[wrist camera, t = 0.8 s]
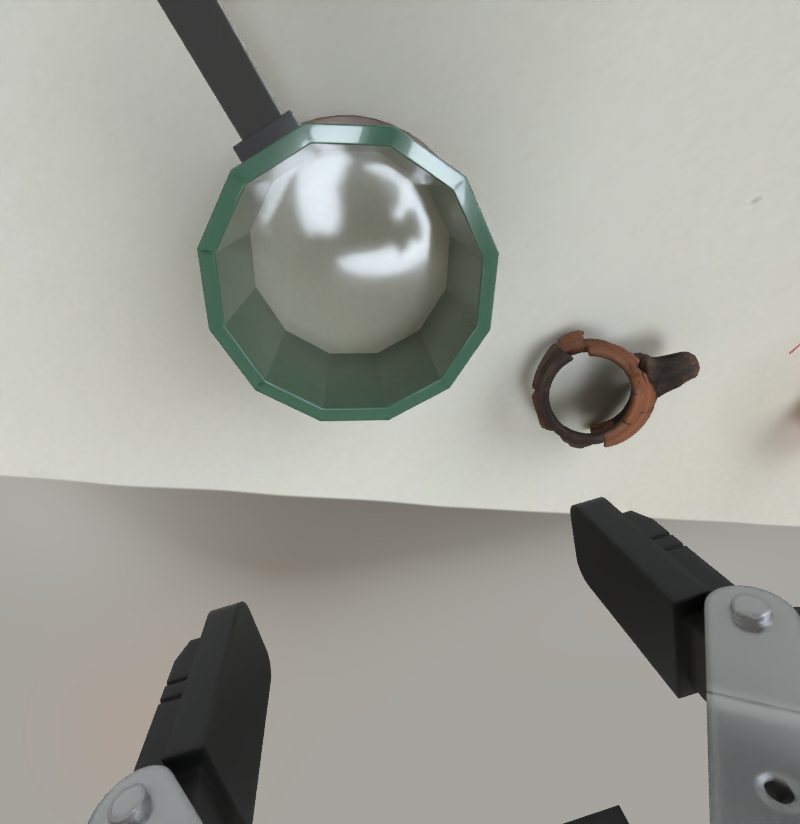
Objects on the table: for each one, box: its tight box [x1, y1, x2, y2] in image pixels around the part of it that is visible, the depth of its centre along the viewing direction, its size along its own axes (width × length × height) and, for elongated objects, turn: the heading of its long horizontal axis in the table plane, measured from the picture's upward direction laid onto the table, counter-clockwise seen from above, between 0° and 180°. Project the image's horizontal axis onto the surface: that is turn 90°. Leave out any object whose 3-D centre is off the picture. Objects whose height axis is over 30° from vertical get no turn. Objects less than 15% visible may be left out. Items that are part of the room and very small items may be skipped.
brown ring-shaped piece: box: [532, 330, 700, 448], centre depth 38 cm, size 12×10×8 cm
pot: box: [157, 0, 499, 421], centre depth 27 cm, size 25×15×10 cm, turn 28°
